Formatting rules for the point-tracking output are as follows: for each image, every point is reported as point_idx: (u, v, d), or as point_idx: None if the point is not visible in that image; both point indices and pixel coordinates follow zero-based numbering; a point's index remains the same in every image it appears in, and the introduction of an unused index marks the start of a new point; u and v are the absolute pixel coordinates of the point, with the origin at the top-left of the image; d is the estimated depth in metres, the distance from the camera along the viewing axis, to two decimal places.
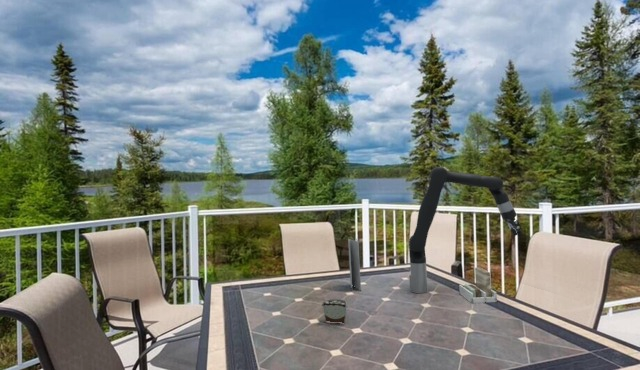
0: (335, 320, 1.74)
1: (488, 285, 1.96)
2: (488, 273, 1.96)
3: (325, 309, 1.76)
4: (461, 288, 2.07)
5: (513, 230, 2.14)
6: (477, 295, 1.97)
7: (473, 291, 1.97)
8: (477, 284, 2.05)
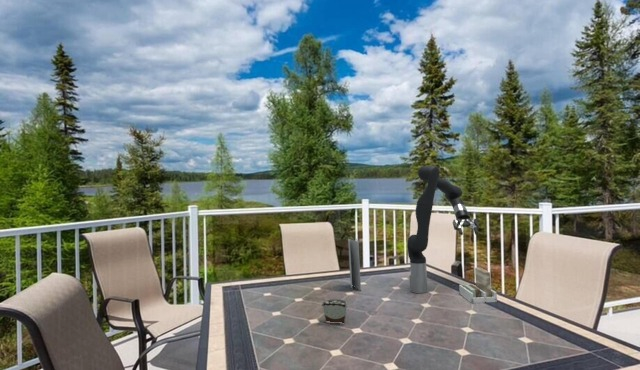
0: (335, 320, 1.74)
1: (488, 285, 1.96)
2: (488, 273, 1.96)
3: (325, 309, 1.76)
4: (461, 288, 2.07)
5: None
6: (477, 295, 1.97)
7: (473, 291, 1.97)
8: (477, 284, 2.05)
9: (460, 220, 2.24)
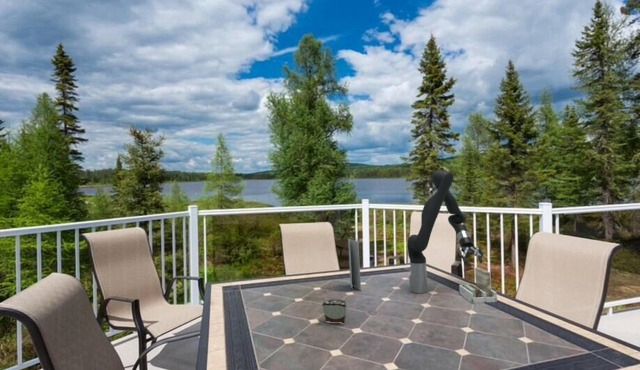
0: (335, 320, 1.74)
1: (488, 285, 1.96)
2: (488, 273, 1.96)
3: (325, 309, 1.76)
4: (461, 288, 2.07)
5: None
6: (477, 295, 1.97)
7: (473, 291, 1.97)
8: (477, 284, 2.05)
9: (464, 248, 2.19)
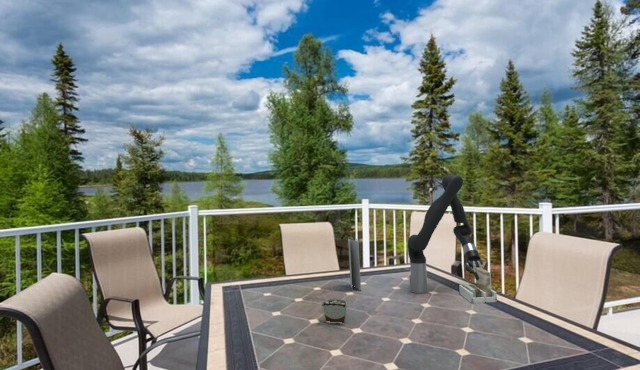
0: (335, 320, 1.74)
1: (488, 285, 1.96)
2: (488, 273, 1.96)
3: (325, 309, 1.76)
4: (461, 288, 2.07)
5: None
6: (477, 295, 1.97)
7: (473, 291, 1.97)
8: (477, 284, 2.05)
9: (470, 262, 2.10)
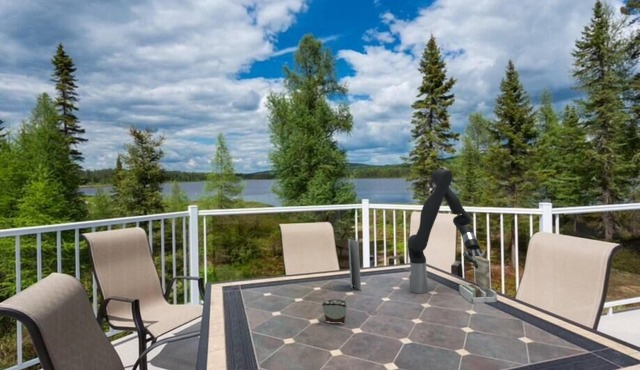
0: (335, 320, 1.74)
1: (487, 273, 1.96)
2: (487, 261, 1.96)
3: (325, 309, 1.76)
4: (461, 288, 2.07)
5: None
6: (477, 295, 1.97)
7: (473, 291, 1.97)
8: (476, 272, 2.06)
9: (470, 251, 2.10)
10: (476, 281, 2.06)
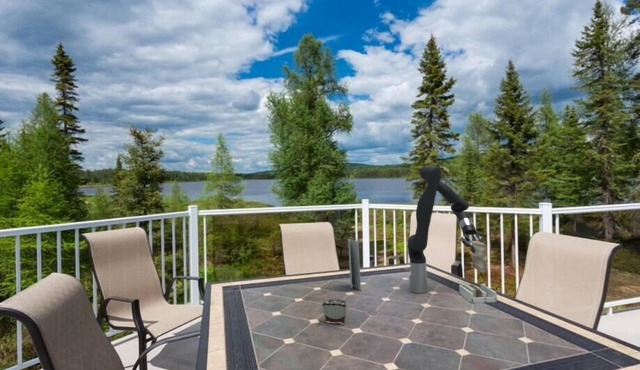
0: (335, 320, 1.74)
1: (484, 257, 1.99)
2: (483, 245, 1.99)
3: (325, 309, 1.76)
4: (461, 288, 2.07)
5: None
6: (477, 295, 1.97)
7: (473, 291, 1.97)
8: (474, 256, 2.09)
9: (467, 236, 2.13)
10: (473, 265, 2.09)
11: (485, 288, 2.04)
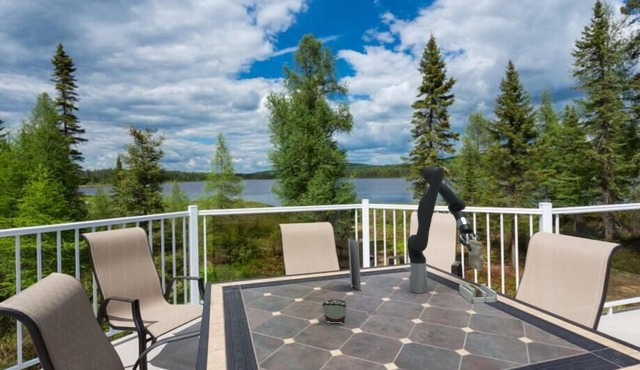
0: (335, 320, 1.74)
1: (480, 255, 2.04)
2: (480, 244, 2.04)
3: (325, 309, 1.76)
4: (461, 288, 2.07)
5: None
6: (477, 295, 1.97)
7: (473, 291, 1.97)
8: (470, 255, 2.13)
9: (464, 235, 2.18)
10: (470, 264, 2.14)
11: (485, 288, 2.04)
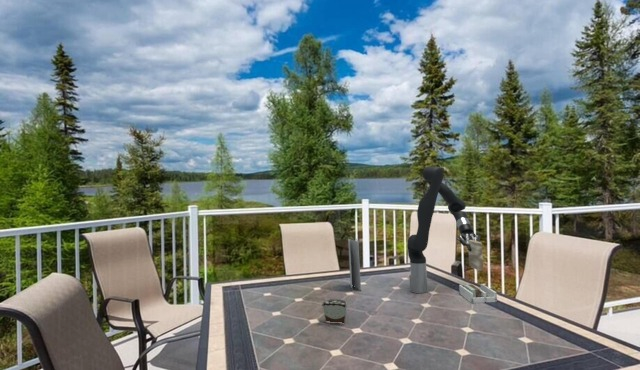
0: (335, 320, 1.74)
1: (480, 255, 2.04)
2: (480, 244, 2.04)
3: (325, 309, 1.76)
4: (461, 288, 2.07)
5: None
6: (477, 295, 1.97)
7: (473, 291, 1.97)
8: (470, 255, 2.13)
9: (464, 235, 2.18)
10: (470, 264, 2.14)
11: (485, 288, 2.04)
